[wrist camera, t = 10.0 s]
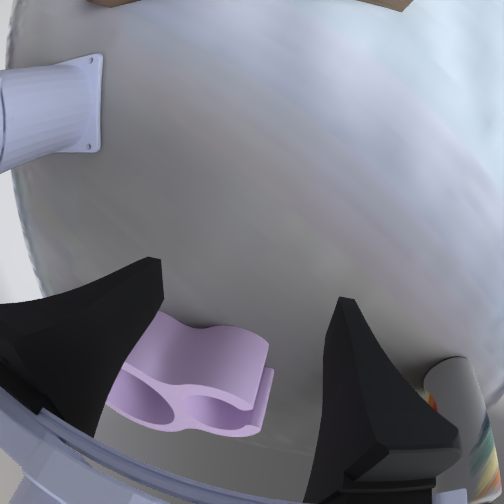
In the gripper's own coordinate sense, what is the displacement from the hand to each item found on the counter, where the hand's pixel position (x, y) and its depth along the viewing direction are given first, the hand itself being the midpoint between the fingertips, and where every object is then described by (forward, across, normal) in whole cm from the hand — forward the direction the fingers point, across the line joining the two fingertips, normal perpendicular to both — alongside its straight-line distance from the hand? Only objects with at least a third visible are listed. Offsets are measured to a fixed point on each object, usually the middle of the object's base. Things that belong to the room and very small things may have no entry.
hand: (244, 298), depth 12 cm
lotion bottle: (+10, -20, +13) cm, 26 cm away
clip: (+10, +8, +17) cm, 21 cm away
